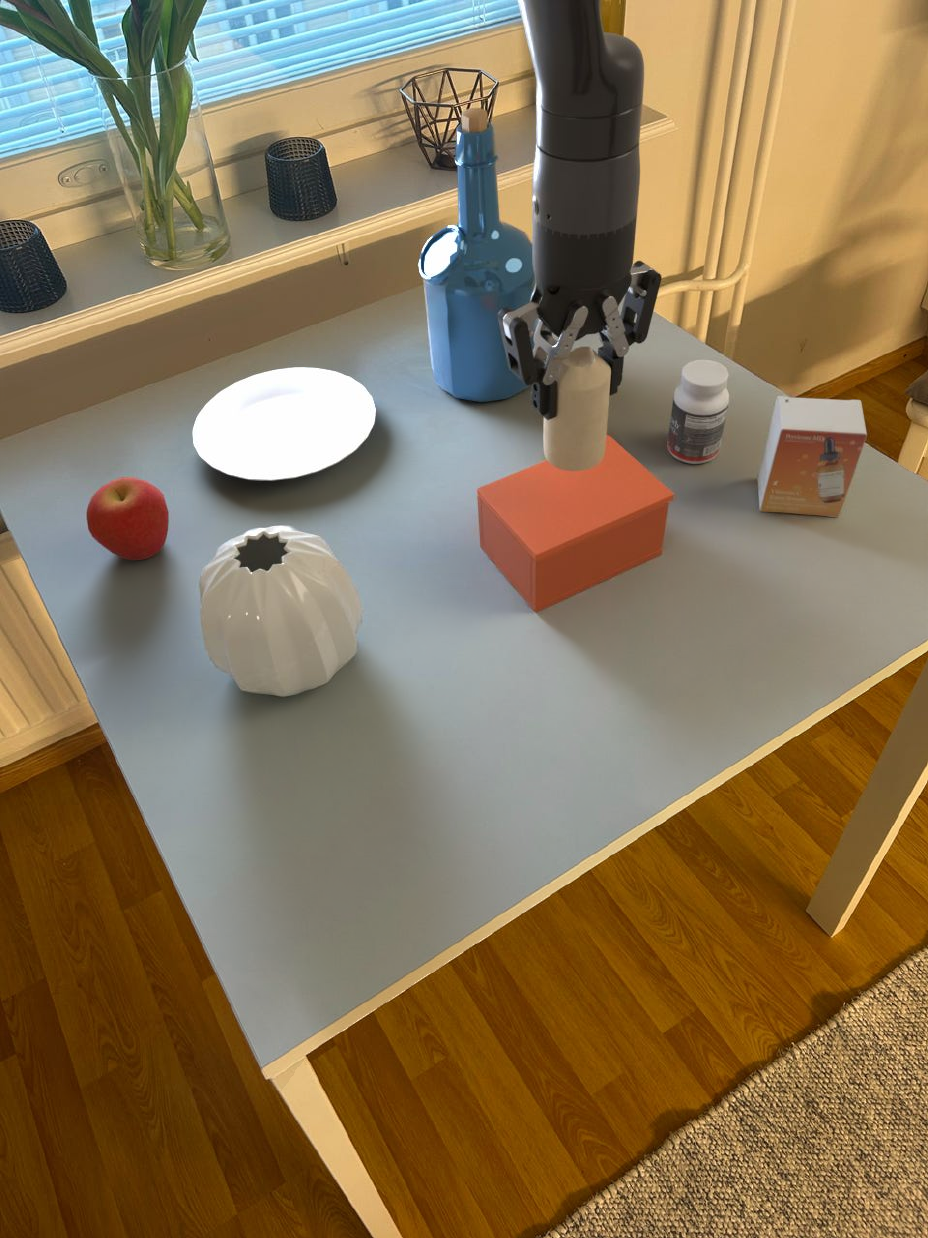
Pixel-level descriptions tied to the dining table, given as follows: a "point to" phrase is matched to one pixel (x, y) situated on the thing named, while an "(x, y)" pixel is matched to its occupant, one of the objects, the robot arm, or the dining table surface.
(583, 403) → the candle
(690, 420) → the pill bottle
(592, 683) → the dining table surface
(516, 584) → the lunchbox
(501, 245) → the wine bottle
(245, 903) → the dining table surface
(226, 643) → the vase
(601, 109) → the robot arm
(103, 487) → the apple
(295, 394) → the plate
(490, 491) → the lunchbox lid
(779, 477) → the small box
